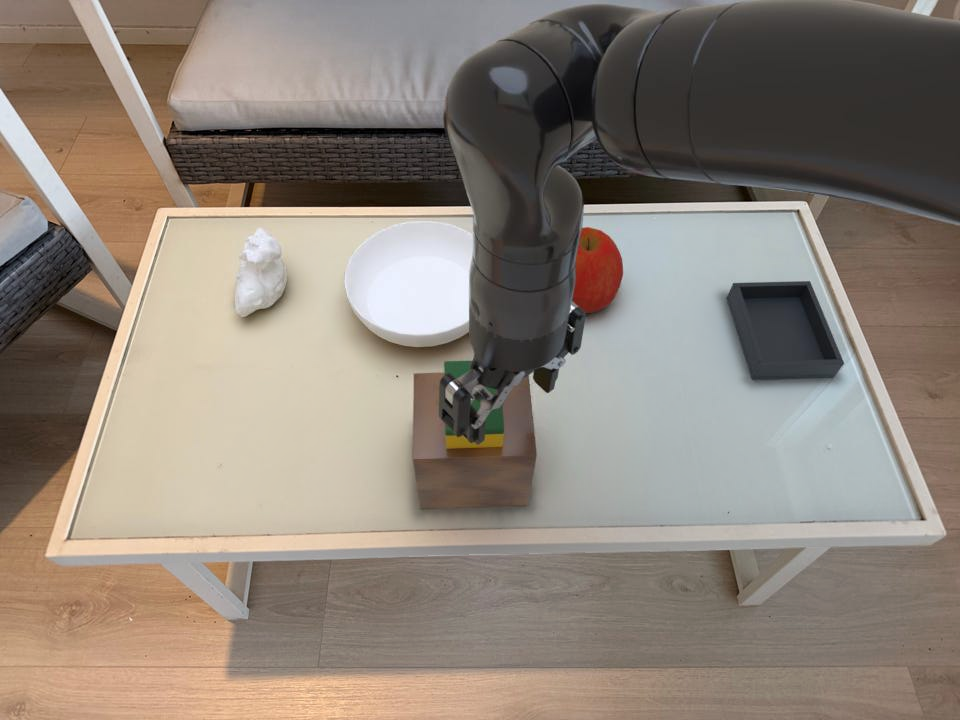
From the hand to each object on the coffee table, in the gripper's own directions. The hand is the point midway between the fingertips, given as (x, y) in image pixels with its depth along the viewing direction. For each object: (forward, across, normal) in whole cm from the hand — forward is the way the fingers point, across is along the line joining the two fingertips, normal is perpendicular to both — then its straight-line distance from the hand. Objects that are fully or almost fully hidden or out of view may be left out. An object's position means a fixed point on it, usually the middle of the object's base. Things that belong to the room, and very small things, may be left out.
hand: (509, 410), depth 64 cm
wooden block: (+17, -1, +4) cm, 18 cm away
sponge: (+5, -1, +4) cm, 7 cm away
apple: (+18, +27, +15) cm, 36 cm away
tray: (+17, +42, -7) cm, 46 cm away
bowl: (+18, +10, +27) cm, 33 cm away
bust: (+18, -6, +42) cm, 46 cm away
